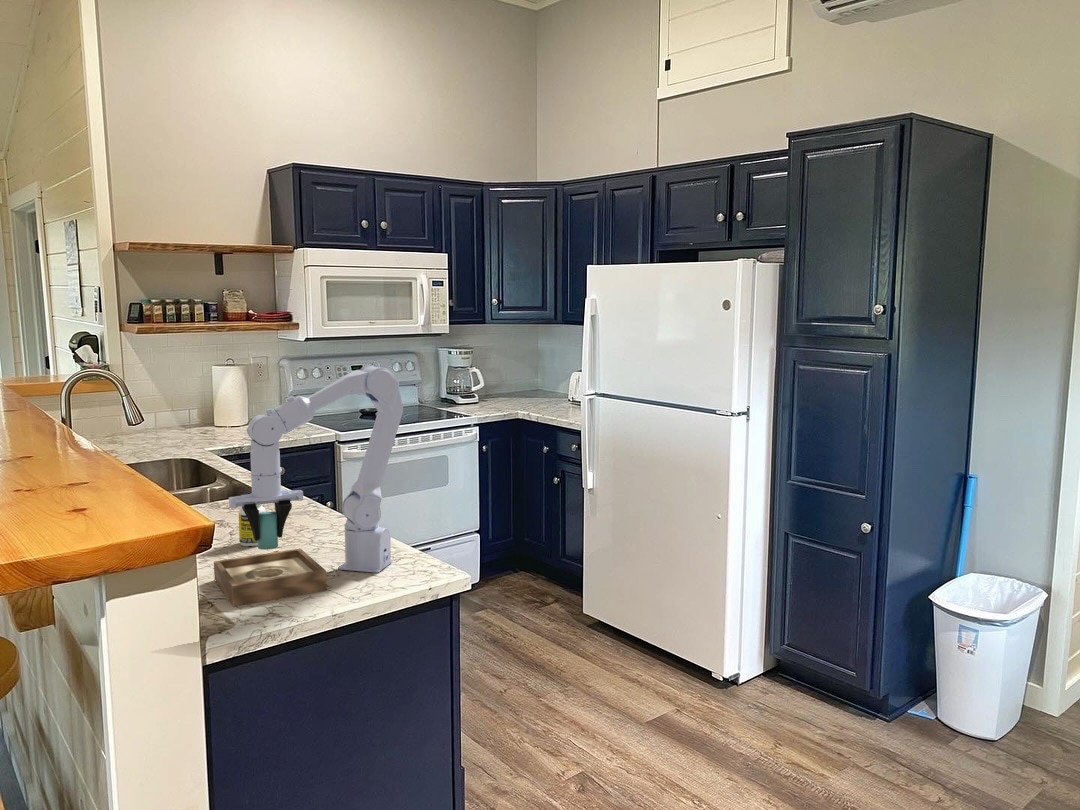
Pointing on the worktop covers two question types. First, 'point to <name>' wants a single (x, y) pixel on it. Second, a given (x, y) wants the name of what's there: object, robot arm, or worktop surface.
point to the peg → (268, 530)
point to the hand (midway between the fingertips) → (267, 537)
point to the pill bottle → (247, 528)
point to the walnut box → (269, 576)
